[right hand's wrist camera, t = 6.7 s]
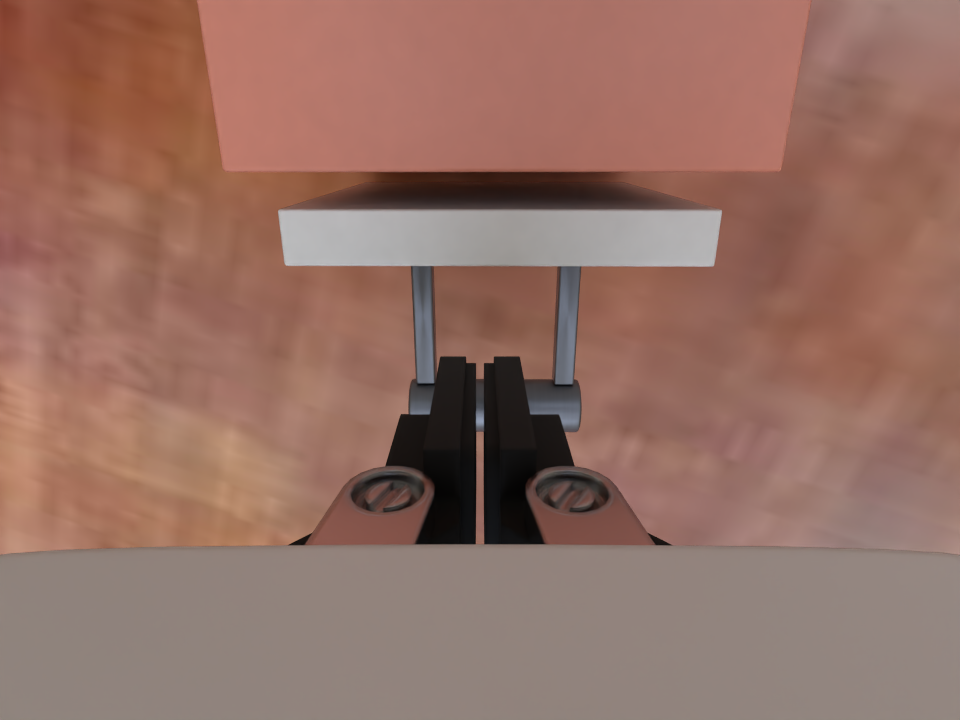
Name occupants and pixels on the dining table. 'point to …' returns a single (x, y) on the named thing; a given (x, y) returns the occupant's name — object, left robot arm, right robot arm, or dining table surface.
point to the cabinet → (503, 84)
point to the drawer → (500, 251)
